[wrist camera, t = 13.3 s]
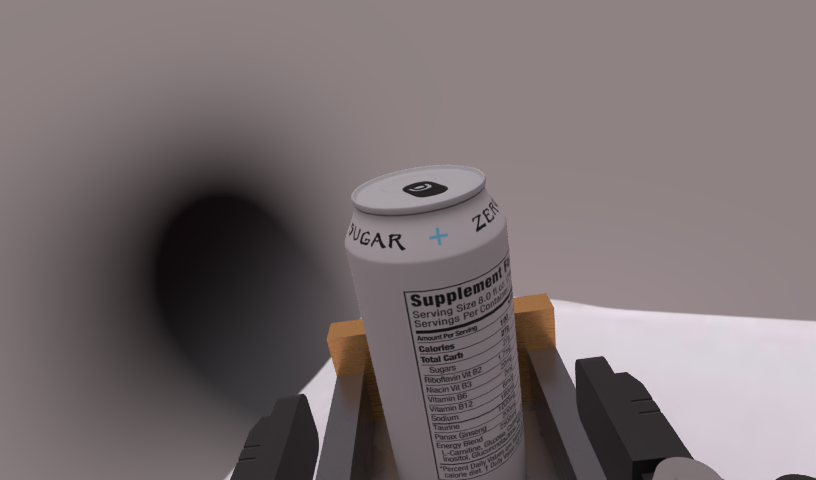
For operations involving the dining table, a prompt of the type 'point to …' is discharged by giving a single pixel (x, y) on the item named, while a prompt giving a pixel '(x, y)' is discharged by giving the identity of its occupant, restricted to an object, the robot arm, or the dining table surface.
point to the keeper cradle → (540, 393)
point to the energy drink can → (440, 322)
